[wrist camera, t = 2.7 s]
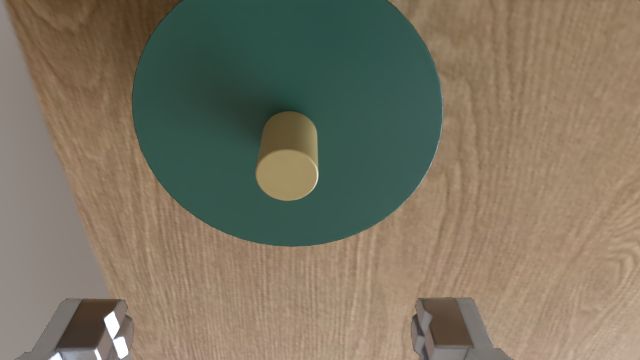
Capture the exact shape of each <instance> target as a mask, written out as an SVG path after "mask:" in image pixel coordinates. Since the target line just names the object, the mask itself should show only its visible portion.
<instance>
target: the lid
mask: <svg viewBox="0 0 640 360" xmlns="http://www.w3.org/2000/svg"><path fill="white" fill-rule="evenodd" d="M132 114H133V120H134V126H135V132H136V135H137V138H138V141H139V145H140V148H141V151H142V153H143V155H144V157H145V159H146V161H147V163H148V165H149V167H150V169H151V170H152V172H153V173H154V175H155V176H156V178H157V179H158V181H159V182H160V183H161V185H162V186H163V187H164V188H165V189H166V191H167V192H168V193H169V194H170V195H171V196H172V197H173V198H174V199H175V200H176V201H177V202H178V203H179V204H180V205H181V206H182V207H183V208H185V209H186V210H187V211H189V212H190V213H191V214H193V215H194V216H195V217H197V218H198V219H200V220H202V221H203V222H205V223H207V224H208V225H210V226H212V227H214V228H216V229H218V230H220V231H222V232H224V233H226V234H229V235H232V236H235V237H238V238H240V239H244V240H248V241H252V242H256V243H260V244H267V245H274V246H290V247H293V246H311V245H318V244H325V243H329V242H333V241H337V240H341V239H344V238H347V237H349V236H352V235H355V234H357V233H359V232H362V231H364V230H366V229H368V228H370V227H372V226H373V225H375V224H377V223H378V222H380V221H382V220H383V219H385V218H386V217H387V216H389V215H390V214H391V213H393V212H394V211H395V210H396V209H398V208H399V207H400V206H401V205H402V204H403V203H404V202H405V201H406V200H407V199H408V198H409V197H410V196H411V194H412V193H413V192H414V191H415V189H416V188H417V187H418V186H419V184H420V183H421V181H422V180H423V178H424V176H425V175H426V173H427V172H428V170H429V168H430V165H431V163H432V161H433V159H434V157H435V154H436V151H437V147H438V144H439V141H440V137H441V130H442V124H443V97H442V90H441V83H440V79H439V76H438V73H437V70H436V66H435V63H434V61H433V59H432V57H431V55H430V53H429V51H428V48H427V46H426V44H425V43H424V41H423V40H422V38H421V37H420V35H419V34H418V33H417V31H416V30H415V28H414V27H413V25H412V24H411V23H410V22H409V21H408V20H407V19H406V17H405V16H404V15H403V14H402V13H401V12H400V11H399V10H398V9H397V8H396V7H395V6H394V5H393V4H391V3H390V2H389V1H388V0H181V1H180V2H179V3H178V4H176V5H175V6H174V8H173V9H172V10H171V11H170V12H169V13H168V14H167V15H166V16H165V17H164V18H163V19H162V20H161V21H160V23H159V24H158V26H157V27H156V29H155V30H154V31H153V33H152V34H151V36H150V37H149V39H148V41H147V43H146V45H145V47H144V50H143V52H142V54H141V56H140V59H139V62H138V66H137V69H136V72H135V76H134V84H133V91H132Z"/></svg>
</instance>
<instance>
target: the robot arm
mask: <svg viewBox="0 0 640 360" xmlns="http://www.w3.org/2000/svg"><path fill="white" fill-rule="evenodd" d="M415 308H416V312H417V314H416V315H414V316H413V317H412V322H411V338H412V344H413V349H414V351H415V352H416V353H417V354H418V355H419V356H420V357H419V360H513V359H512V358H510V357H509V356H508V355H507V354H506V353H505V352H503V351H502V350H501V349H500V348H494V346H493V344H492V341H491V339H490V337H489V334H488V332H487V330H486V327H485V325H484V323H483V320H482V318H481V315H480V313H479V311H478V308H477V306H476V304H475V301H474V300H473V299H472V298H452V297H445V298H418V299H417V301H416V305H415ZM127 309H128V306H127V304H126V301H125V300H122V299H65V300H64V301H63V302H61V303H60V305H59V307H58V308H57V310H56V311H55V313H54V315H53V317H52V318H51V320H50V321H49V323H48V325H47V326H46V328H45V330H44V331H43V333H42V335H41V336H40V338H39V340H38V341H37V343H36V344H35V346H34V348H33V349H32V351H31V352H25V353H24V354H22V355H21V356H19V357H18V358H17V359H15V360H121V359H122V358H123V357H124V356H126V355H127V354H128V353H129V351H130V348H131V345H132V342H133V336H134V324H133V321H132V318H131V317H129V316H128V315H126V311H127Z"/></svg>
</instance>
